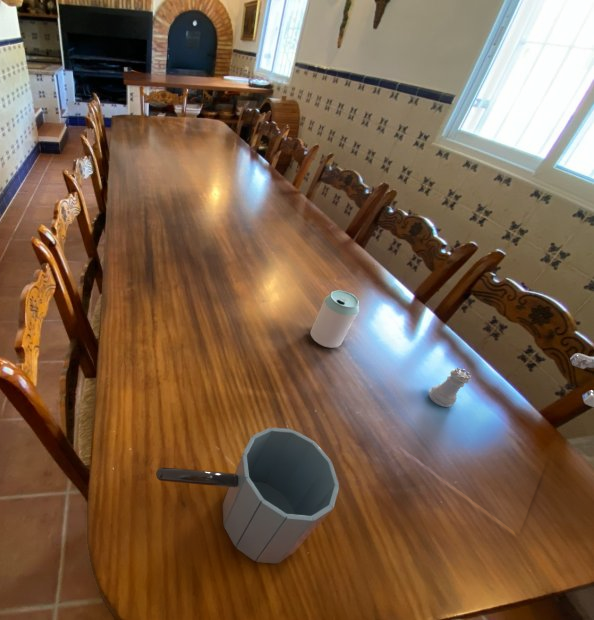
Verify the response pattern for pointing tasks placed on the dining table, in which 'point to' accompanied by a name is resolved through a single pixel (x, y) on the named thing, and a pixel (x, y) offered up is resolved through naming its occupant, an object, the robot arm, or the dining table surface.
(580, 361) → the robot arm
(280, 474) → the pot
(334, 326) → the can
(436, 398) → the rook chess piece
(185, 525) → the dining table surface
